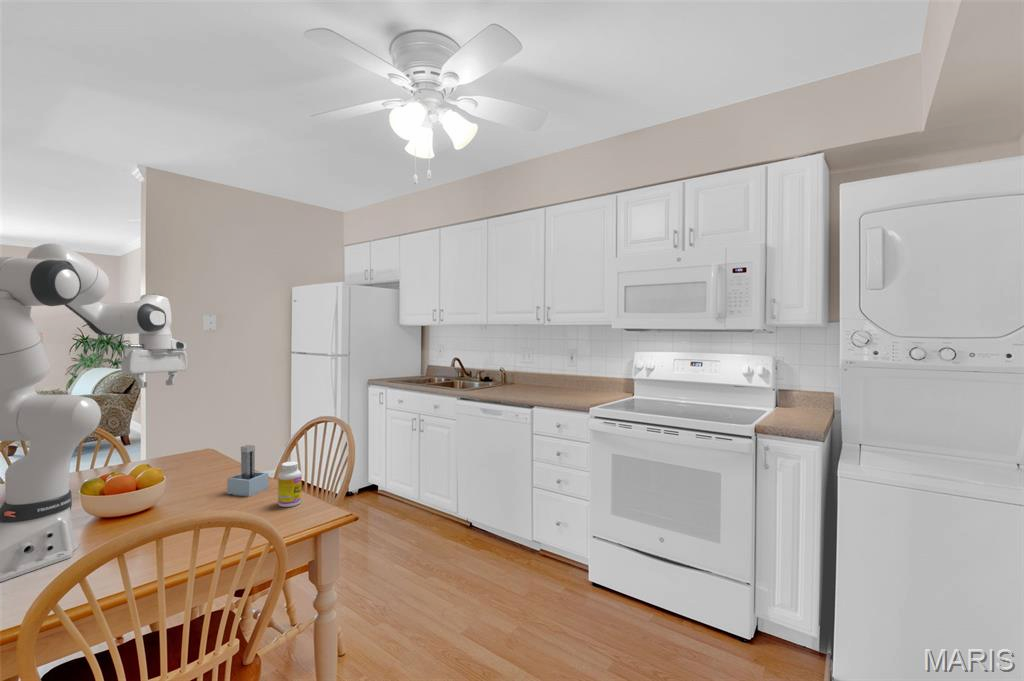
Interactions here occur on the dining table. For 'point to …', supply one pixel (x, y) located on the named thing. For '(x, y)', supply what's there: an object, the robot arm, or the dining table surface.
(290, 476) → the supplement bottle
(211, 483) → the dining table surface
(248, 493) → the blue-gray square tray
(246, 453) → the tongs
